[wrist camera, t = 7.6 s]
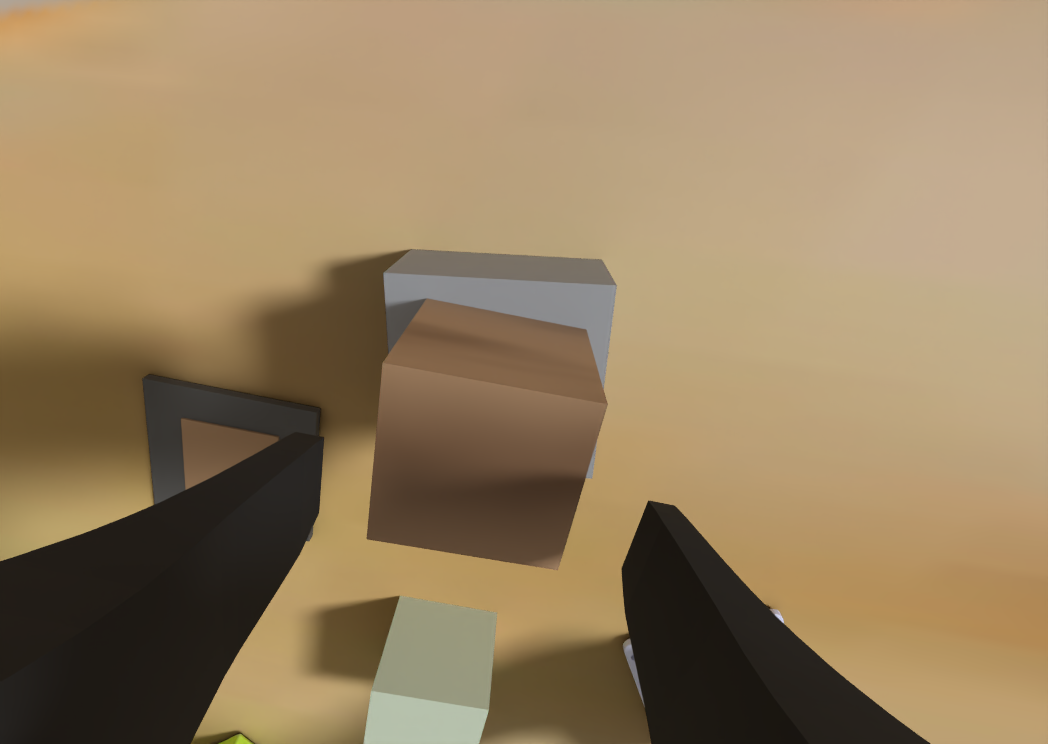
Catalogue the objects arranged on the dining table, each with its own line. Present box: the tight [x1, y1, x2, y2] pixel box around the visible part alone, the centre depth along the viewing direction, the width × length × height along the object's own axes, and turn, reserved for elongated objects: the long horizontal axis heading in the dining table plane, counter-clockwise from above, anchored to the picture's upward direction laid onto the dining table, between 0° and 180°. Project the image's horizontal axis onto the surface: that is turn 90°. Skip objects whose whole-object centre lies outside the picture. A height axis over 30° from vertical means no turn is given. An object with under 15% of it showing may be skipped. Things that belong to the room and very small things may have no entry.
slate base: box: [383, 249, 617, 478], centre depth 19 cm, size 7×7×4 cm
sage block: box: [364, 596, 497, 744], centre depth 25 cm, size 5×5×5 cm
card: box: [142, 374, 320, 541], centre depth 22 cm, size 7×7×1 cm
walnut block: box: [367, 298, 608, 570], centre depth 14 cm, size 5×5×5 cm
